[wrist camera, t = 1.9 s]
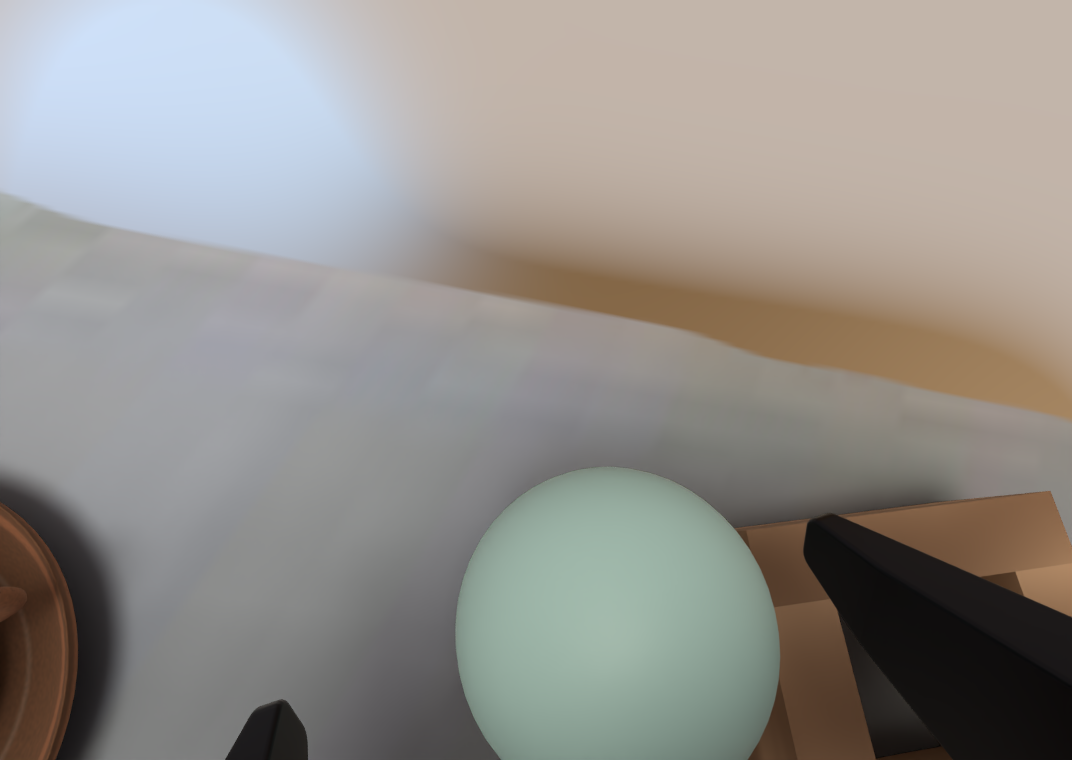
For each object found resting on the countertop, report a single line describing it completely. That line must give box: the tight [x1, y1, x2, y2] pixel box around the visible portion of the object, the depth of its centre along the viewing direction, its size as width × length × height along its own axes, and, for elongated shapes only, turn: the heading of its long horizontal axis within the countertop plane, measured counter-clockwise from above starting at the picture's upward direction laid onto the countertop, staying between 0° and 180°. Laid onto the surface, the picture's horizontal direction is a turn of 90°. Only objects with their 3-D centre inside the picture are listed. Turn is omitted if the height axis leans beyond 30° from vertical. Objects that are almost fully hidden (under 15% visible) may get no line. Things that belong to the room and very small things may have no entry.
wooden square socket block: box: [734, 491, 1072, 760], centre depth 15 cm, size 9×9×4 cm
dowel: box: [455, 467, 780, 760], centre depth 11 cm, size 3×3×14 cm
